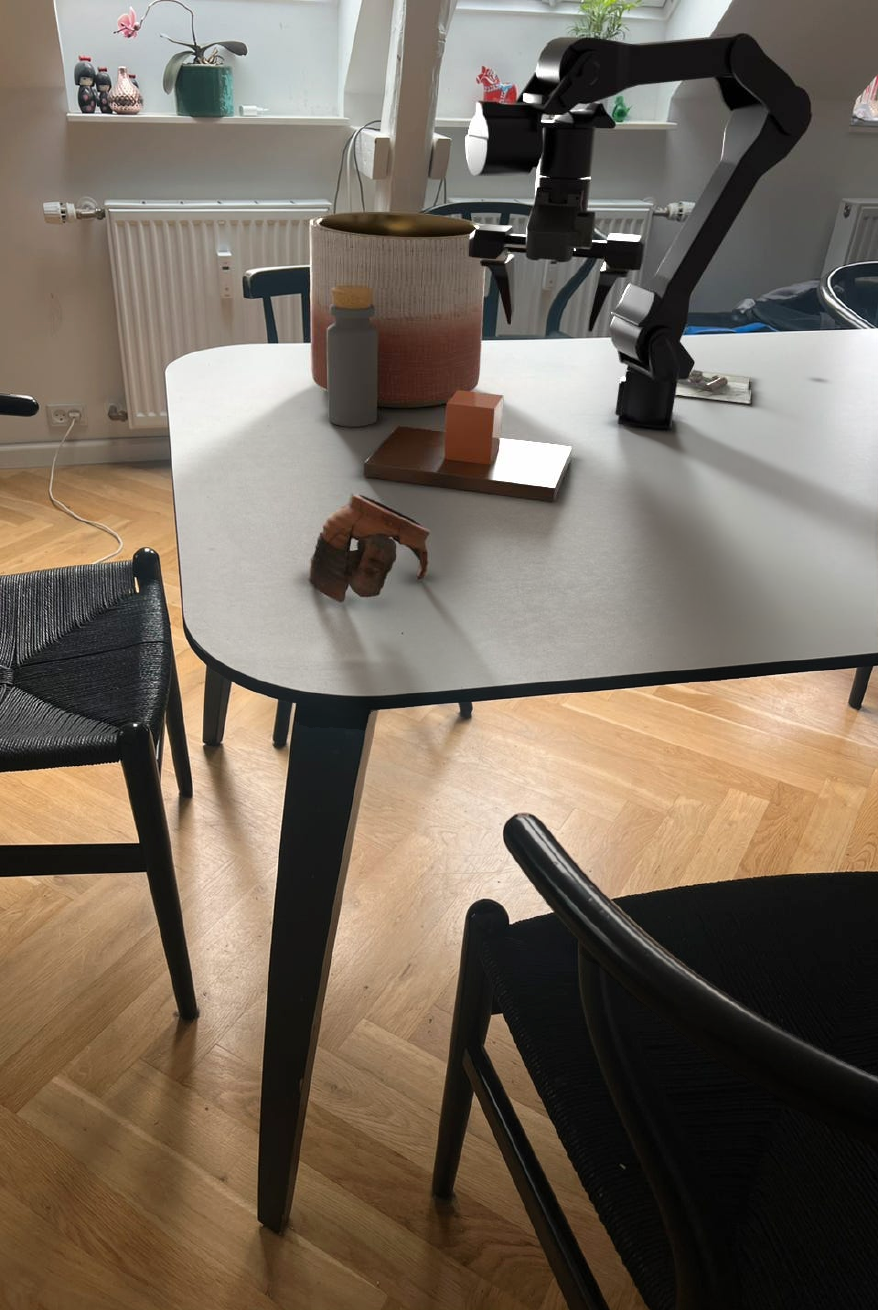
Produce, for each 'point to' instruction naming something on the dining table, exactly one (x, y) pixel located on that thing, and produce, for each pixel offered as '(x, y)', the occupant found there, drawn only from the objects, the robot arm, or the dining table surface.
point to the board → (470, 465)
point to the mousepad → (715, 387)
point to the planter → (403, 299)
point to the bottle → (352, 358)
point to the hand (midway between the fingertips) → (549, 327)
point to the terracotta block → (473, 427)
